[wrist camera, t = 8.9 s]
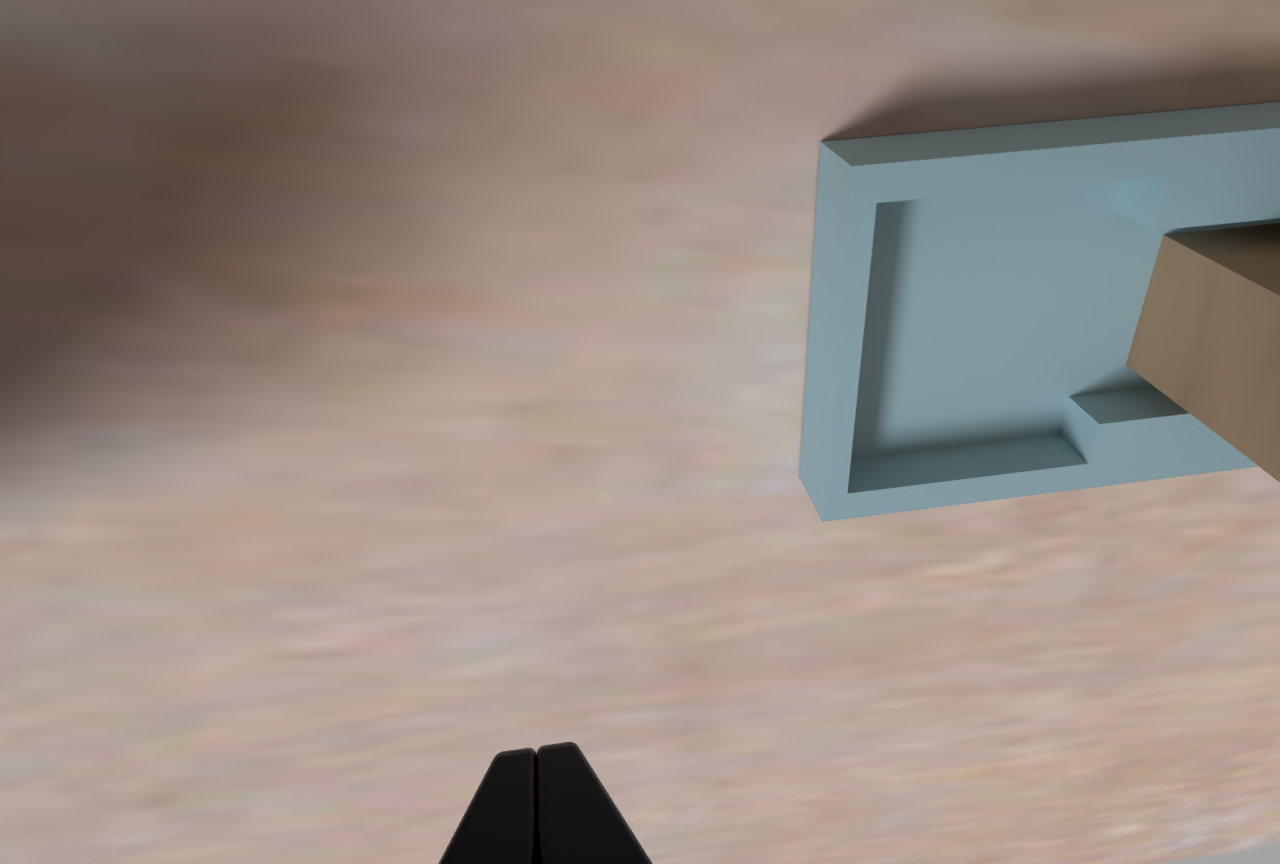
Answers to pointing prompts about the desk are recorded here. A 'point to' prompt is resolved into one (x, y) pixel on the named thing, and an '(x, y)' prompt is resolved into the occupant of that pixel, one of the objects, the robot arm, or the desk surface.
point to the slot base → (1010, 304)
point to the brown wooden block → (1218, 334)
